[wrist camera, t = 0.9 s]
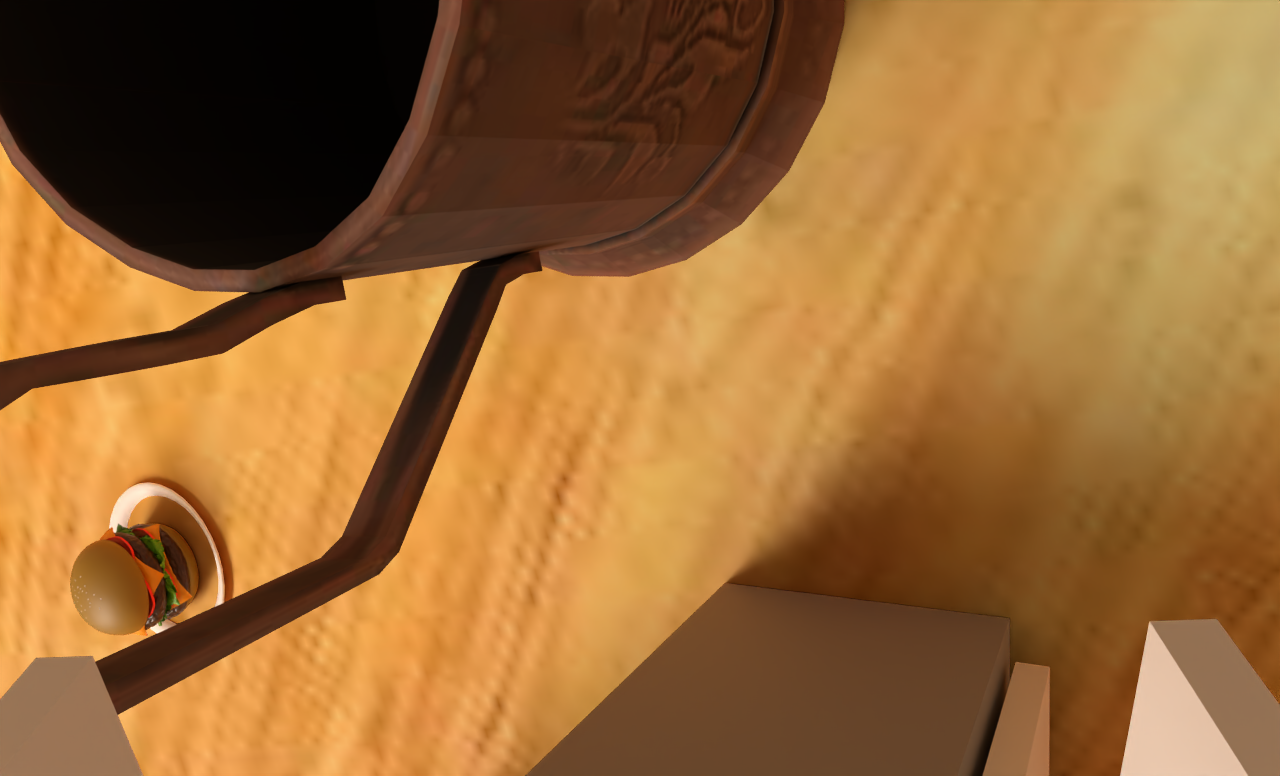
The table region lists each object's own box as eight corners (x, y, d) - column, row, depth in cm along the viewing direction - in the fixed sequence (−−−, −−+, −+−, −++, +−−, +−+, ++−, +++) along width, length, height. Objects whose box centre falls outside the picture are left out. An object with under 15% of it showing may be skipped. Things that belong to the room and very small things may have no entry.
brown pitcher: (806, -389, 29) (-273, -2057, 7) (900, 410, 32) (366, 917, 11) (345, -174, 38) (-756, -625, 16) (458, 434, 41) (-322, 736, 20)
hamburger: (238, 449, 49) (138, 480, 44) (280, 674, 51) (189, 727, 46) (90, 447, 54) (-13, 475, 50) (133, 650, 56) (38, 695, 52)
